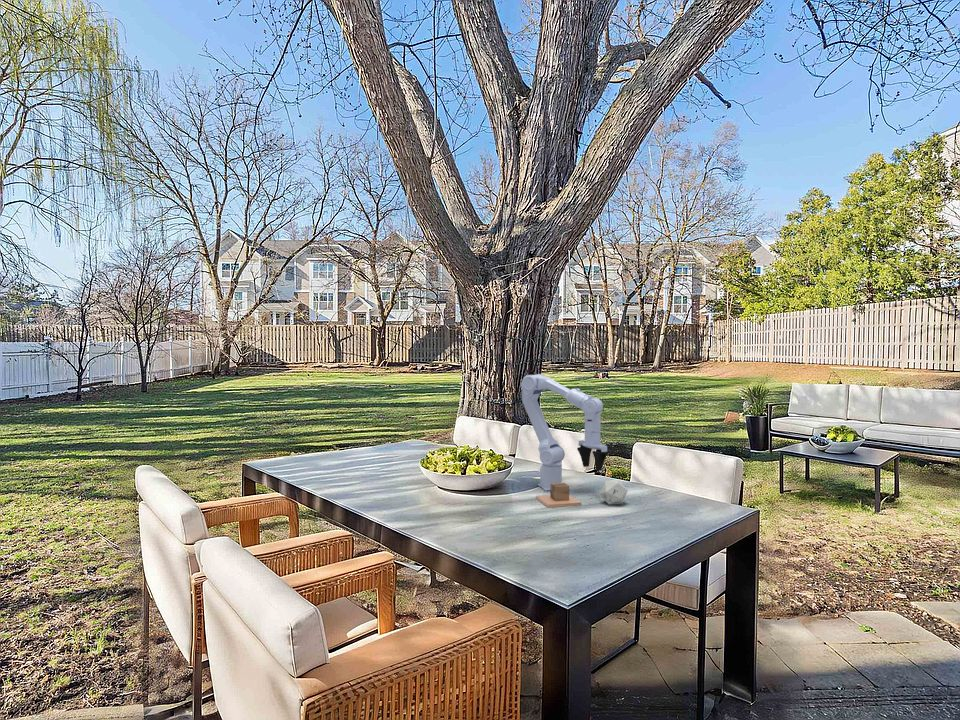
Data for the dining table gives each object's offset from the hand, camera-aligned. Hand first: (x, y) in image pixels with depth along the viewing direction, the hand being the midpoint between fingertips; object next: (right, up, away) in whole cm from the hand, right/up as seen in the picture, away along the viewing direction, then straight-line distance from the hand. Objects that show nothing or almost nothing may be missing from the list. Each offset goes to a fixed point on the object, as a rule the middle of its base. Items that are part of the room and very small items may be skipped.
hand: (592, 468), depth 212 cm
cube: (-13, -9, -10) cm, 19 cm away
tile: (-14, -10, -10) cm, 20 cm away
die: (+5, -10, -12) cm, 16 cm away
